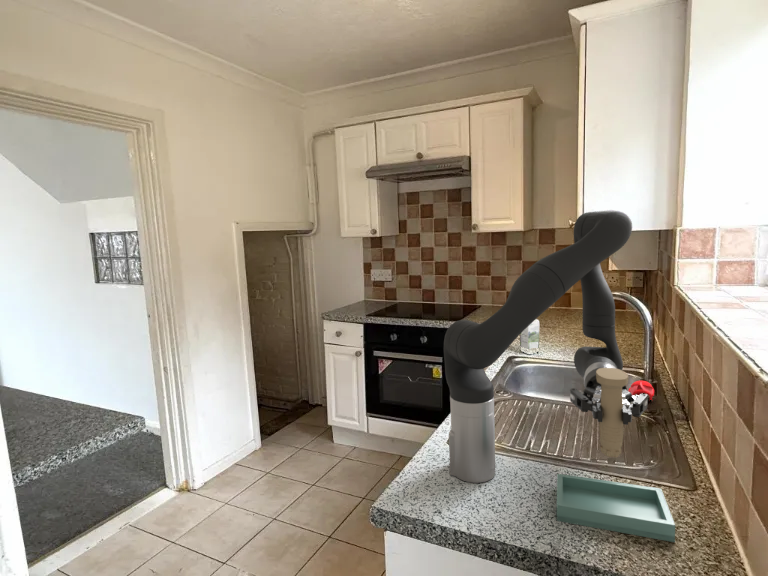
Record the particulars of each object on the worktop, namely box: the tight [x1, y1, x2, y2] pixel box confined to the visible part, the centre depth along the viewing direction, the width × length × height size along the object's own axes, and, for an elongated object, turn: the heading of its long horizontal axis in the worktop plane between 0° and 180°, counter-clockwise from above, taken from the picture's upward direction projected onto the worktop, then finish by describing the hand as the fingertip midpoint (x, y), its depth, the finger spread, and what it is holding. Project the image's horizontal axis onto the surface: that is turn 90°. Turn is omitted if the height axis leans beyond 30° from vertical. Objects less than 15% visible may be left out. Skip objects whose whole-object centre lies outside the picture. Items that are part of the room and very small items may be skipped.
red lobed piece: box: [627, 380, 655, 401], centre depth 131 cm, size 8×6×6 cm
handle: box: [596, 368, 629, 458], centre depth 78 cm, size 5×6×15 cm
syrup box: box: [519, 318, 540, 349], centre depth 187 cm, size 6×6×14 cm
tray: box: [556, 473, 676, 543], centre depth 80 cm, size 18×11×3 cm, turn 68°
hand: (613, 417), depth 76 cm, fingers closed on handle, 3 cm apart
